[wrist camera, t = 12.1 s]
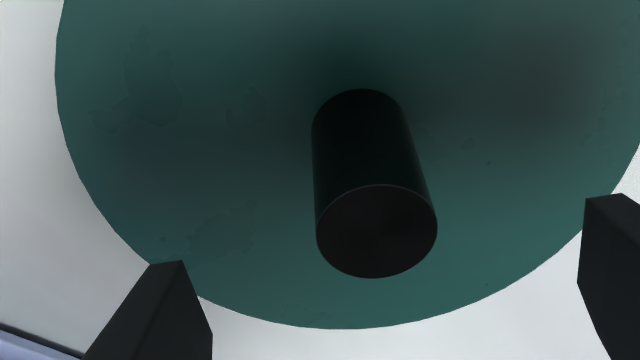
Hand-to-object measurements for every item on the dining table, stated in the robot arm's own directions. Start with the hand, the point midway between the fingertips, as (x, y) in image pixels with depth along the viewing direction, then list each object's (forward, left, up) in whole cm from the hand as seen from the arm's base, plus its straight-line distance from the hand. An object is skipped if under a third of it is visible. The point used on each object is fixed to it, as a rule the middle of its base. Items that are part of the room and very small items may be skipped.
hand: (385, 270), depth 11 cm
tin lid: (0, 0, -6) cm, 6 cm away
